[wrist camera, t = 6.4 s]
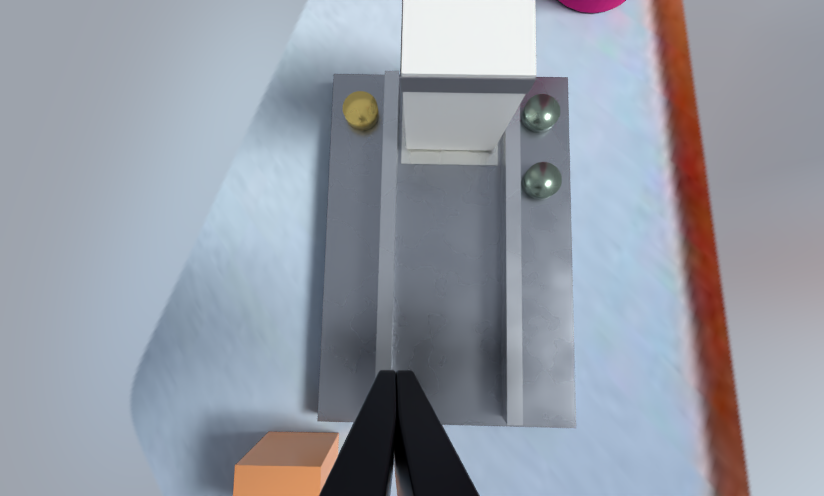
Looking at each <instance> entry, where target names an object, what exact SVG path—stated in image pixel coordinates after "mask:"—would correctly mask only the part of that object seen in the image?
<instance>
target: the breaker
mask: <svg viewBox="0 0 824 496" xmlns="http://www.w3.org/2000/svg"><path fill="white" fill-rule="evenodd" d="M535 80H536V19H535V0H402V31H401V68H400V81H401V92H403V104H404V119H405V134H406V148H407V149H430V150H488V151H493V150H494V148H495V147H496V145H497V143H498V141H499V140H500V138H501V136H502V134H503V133H504V131H505V129H506V127H507V126H508V124H509V122H510V121H511V119H512V117H513V115H514V114H515V112H516V110H517V108H518V107H519V105H520V103H521V101H522V100H523V98H524V96H525V94H528V92H529V91H530V89H531V87H532V86H533V84H534V82H535Z"/></svg>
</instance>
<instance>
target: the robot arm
mask: <svg viewBox="0 0 824 496" xmlns="http://www.w3.org/2000/svg"><path fill="white" fill-rule="evenodd" d="M393 465H395V477H396V486H397V496H480V495H479V494H478V492H477V490H476V488H475V486H474V484H473V482H472V480H471V479H470V477H469V475H468V473H467V471H466V469H465V467H464V465H463V464H462V462H461V460H460V458H459V456H458V454H457V452H456V450H455V449H454V447H453V445H452V443H451V441H450V439H449V437H448V435H447V434H446V432H445V430H444V428H443V426H442V424H441V422H440V420H439V419H438V417H437V415H436V413H435V411H434V409H433V407H432V405H431V404H430V402H429V400H428V398H427V396H426V394H425V392H424V390H423V389H422V387H421V385H420V383H419V381H418V379H417V377H416V375H415V374H414V372H413V371H412V370H397V371H396V372H395V371H394V370H380V371H379V372H378V373H377V375H376V378H375V380H374V382H373V384H372V386H371V388H370V390H369V392H368V394H367V396H366V398H365V400H364V403H363V405H362V407H361V409H360V411H359V413H358V415H357V417H356V419H355V421H354V423H353V425H352V427H351V430H350V432H349V434H348V436H347V438H346V440H345V442H344V444H343V446H342V448H341V450H340V452H339V455H338V457H337V459H336V461H335V463H334V465H333V467H332V469H331V471H330V473H329V475H328V477H327V479H326V482H325V484H324V486H323V488H322V490H321V492H320V494H319V496H390V492H391V484H392V475H393Z"/></svg>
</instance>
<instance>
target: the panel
mask: <svg viewBox="0 0 824 496" xmlns="http://www.w3.org/2000/svg"><path fill="white" fill-rule="evenodd" d="M380 370H394V371H395V372H396V371H397V370H412V371H413V372H414V374H415V375H416V377H417V379H418V381H419V383H420V385H421V387H422V389H423V390H424V392H425V394H426V396H427V398H428V400H429V402H430V404H431V405H432V407H433V409H434V411H435V413H436V415H437V417H438V419H439V420H440V422H441V424H442V425H476V426H513V427H550V428H576V403H575V361H574V319H573V277H572V235H571V193H570V150H569V108H568V77H536V80H535V82H534V84H533V86H532V87H531V89H530V91H529V92H528V94H525V96H524V98H523V100H522V101H521V103H520V105H519V107H518V108H517V110H516V112H515V114H514V115H513V117H512V119H511V121H510V122H509V124H508V126H507V127H506V129H505V131H504V133H503V134H502V136H501V138H500V140H499V141H498V143H497V145H496V147H495V148H494V150H493V151H488V150H430V149H407V148H406V134H405V119H404V104H403V92H401V81H400V75H399V71H385V75H365V74H334V79H333V100H332V122H331V143H330V164H329V186H328V207H327V228H326V250H325V271H324V292H323V314H322V335H321V356H320V378H319V399H318V420H317V421H329V422H354V421H355V419H356V417H357V415H358V413H359V411H360V409H361V407H362V405H363V403H364V400H365V398H366V396H367V394H368V392H369V390H370V388H371V386H372V384H373V382H374V380H375V378H376V375H377V373H378V372H379V371H380Z"/></svg>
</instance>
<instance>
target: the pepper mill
mask: <svg viewBox="0 0 824 496" xmlns="http://www.w3.org/2000/svg"><path fill="white" fill-rule="evenodd" d="M558 1H560V2H561V3H562V4H564V5H565V6H567V7H569V8H572V9H574V10H577V11H579V12H587V13H598V12H605V11H608V10H611V9H613V8H615V7H617V6H619V5H621V4H622V3H623V2H625V1H626V0H558Z"/></svg>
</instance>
